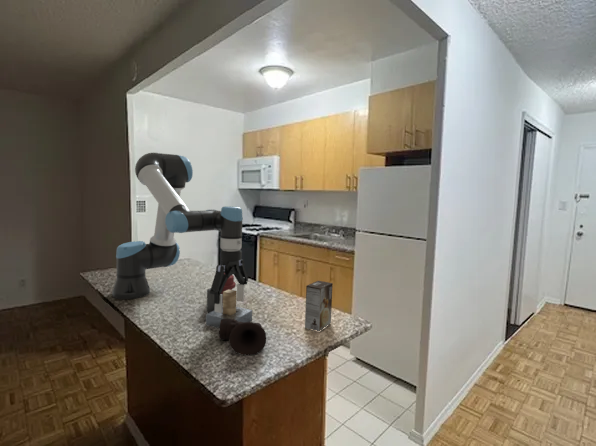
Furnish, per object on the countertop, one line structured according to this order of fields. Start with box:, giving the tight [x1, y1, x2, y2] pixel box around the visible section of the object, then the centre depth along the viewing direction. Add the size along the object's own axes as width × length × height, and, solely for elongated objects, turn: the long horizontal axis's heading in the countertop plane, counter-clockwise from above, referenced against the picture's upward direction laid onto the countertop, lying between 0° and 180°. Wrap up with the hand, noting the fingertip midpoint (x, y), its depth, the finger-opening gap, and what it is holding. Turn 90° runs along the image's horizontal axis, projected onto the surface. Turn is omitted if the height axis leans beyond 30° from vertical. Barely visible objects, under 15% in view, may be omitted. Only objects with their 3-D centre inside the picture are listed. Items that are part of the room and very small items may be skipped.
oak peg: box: [222, 289, 237, 315], centre depth 123 cm, size 3×3×12 cm
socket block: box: [205, 305, 253, 329], centre depth 124 cm, size 12×12×4 cm
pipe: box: [218, 318, 267, 357], centre depth 108 cm, size 10×15×15 cm
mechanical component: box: [213, 273, 237, 305], centre depth 146 cm, size 12×10×10 cm
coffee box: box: [304, 280, 333, 331], centre depth 123 cm, size 9×6×16 cm
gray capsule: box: [206, 287, 219, 314], centre depth 134 cm, size 5×5×9 cm
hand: (229, 306), depth 123 cm, fingers open, 13 cm apart
